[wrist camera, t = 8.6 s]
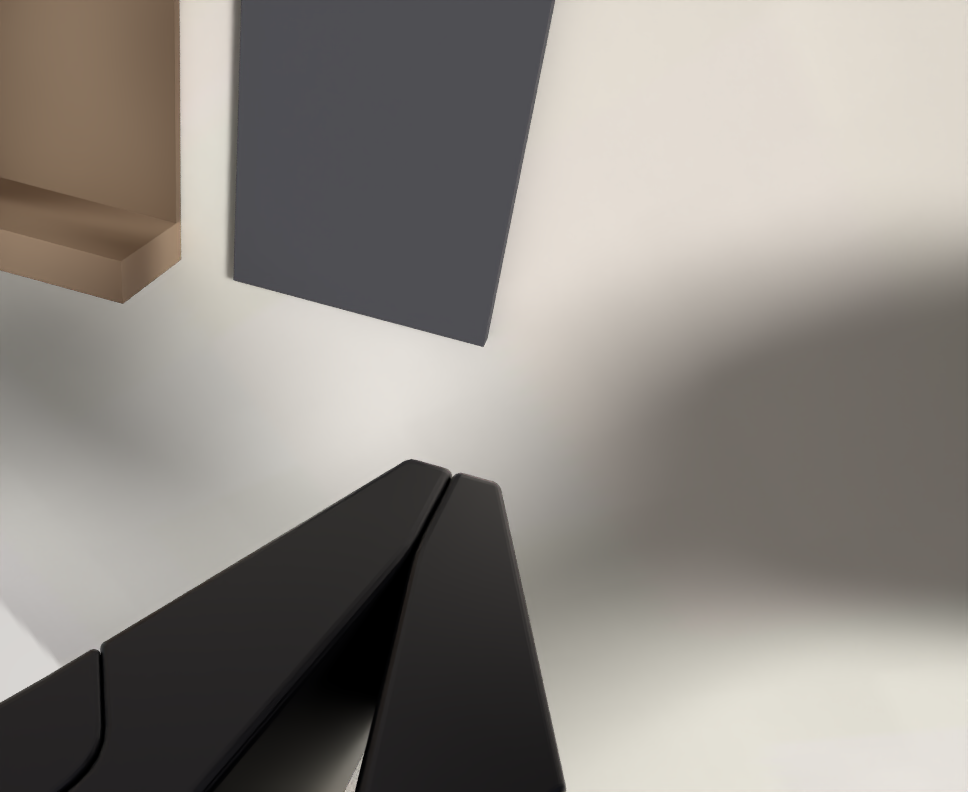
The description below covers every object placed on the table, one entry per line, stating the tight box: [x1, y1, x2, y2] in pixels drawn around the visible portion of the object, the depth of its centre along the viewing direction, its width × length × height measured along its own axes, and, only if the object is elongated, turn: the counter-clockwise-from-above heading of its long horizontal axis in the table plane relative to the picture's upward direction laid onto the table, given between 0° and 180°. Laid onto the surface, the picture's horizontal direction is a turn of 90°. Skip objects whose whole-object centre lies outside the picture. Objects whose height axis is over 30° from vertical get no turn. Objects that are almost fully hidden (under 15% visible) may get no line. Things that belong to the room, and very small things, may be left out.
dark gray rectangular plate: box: [234, 0, 555, 347], centre depth 19 cm, size 6×9×1 cm, turn 170°
